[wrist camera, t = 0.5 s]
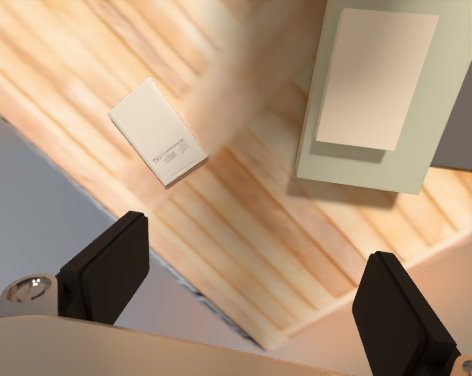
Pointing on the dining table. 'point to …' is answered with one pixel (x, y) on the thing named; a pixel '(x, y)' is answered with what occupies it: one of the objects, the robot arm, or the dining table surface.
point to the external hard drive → (157, 132)
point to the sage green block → (419, 113)
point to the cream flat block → (372, 76)
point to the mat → (458, 131)
